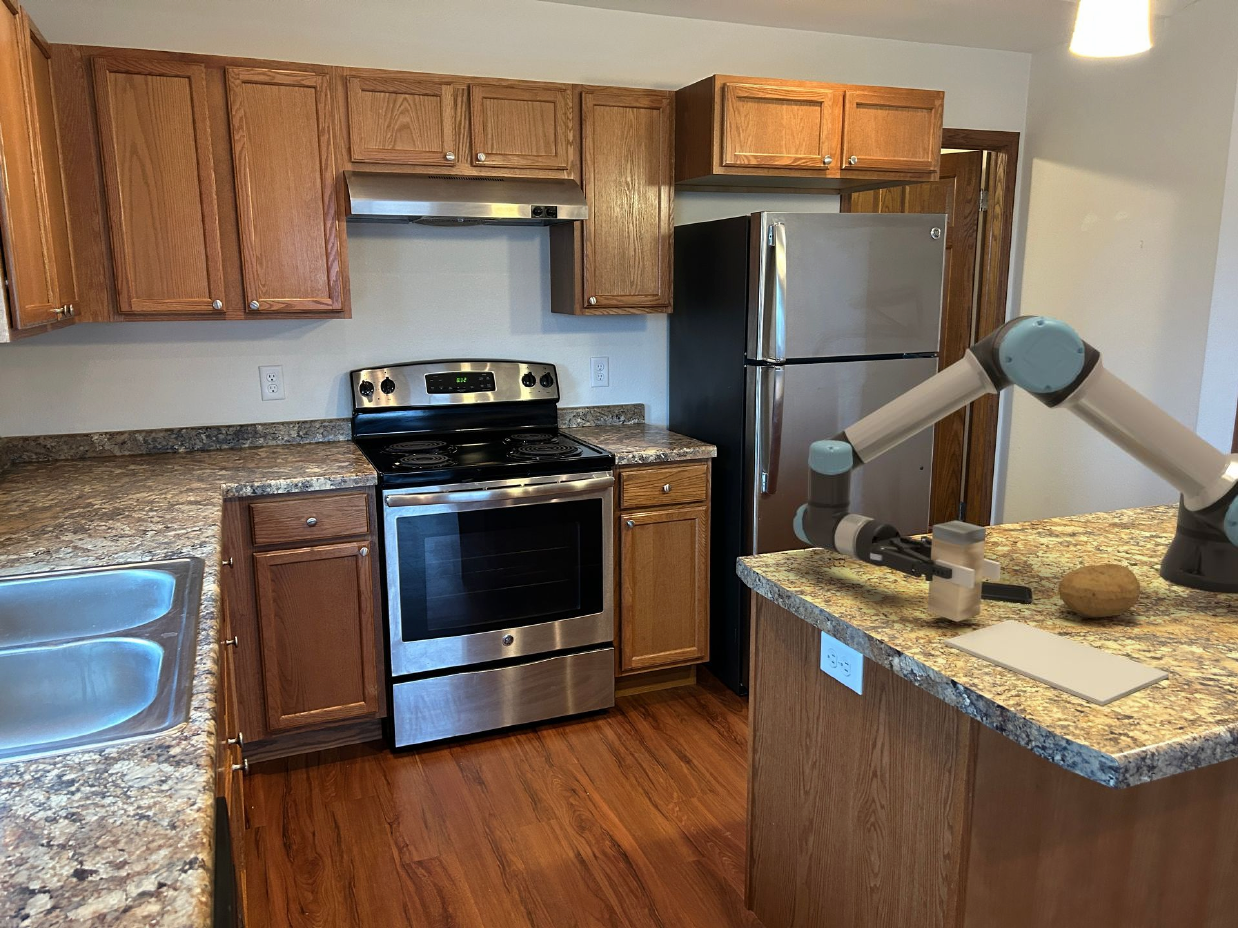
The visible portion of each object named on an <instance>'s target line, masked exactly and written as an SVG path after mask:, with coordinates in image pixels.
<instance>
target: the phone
mask: <svg viewBox="0 0 1238 928" xmlns="http://www.w3.org/2000/svg"><path fill="white" fill-rule="evenodd" d="M1032 591H1033V590H1032V588H1031V587H1029V586H1025V585H1017V584H1010V583H1009V584H1008V583H999V582H990V581H983V580H982V591H981V600H985V601H991V600H992V601H993V602H1000V601H1003V602H1002V603H1008V602H1009V603H1010V604H1016V603H1020V604H1019V605H1025V604H1026V606H1028V605H1029V604H1030V605H1032V604H1033V593H1032ZM1009 603H1008V604H1009ZM1031 603H1032V604H1031ZM1027 604H1028V605H1027Z"/></svg>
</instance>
